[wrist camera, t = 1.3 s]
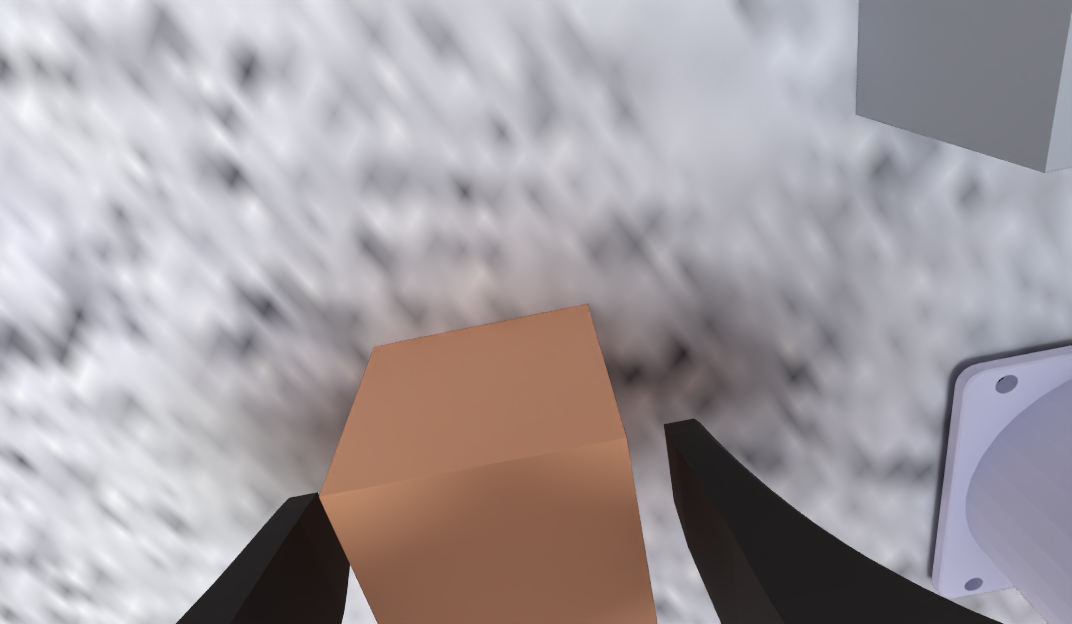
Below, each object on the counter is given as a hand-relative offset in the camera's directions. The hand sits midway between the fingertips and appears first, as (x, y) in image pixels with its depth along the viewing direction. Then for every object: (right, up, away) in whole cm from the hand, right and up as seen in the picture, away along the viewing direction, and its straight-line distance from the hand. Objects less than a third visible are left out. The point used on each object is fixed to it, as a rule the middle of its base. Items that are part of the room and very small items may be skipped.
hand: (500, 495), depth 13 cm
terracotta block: (0, +1, +3) cm, 3 cm away
